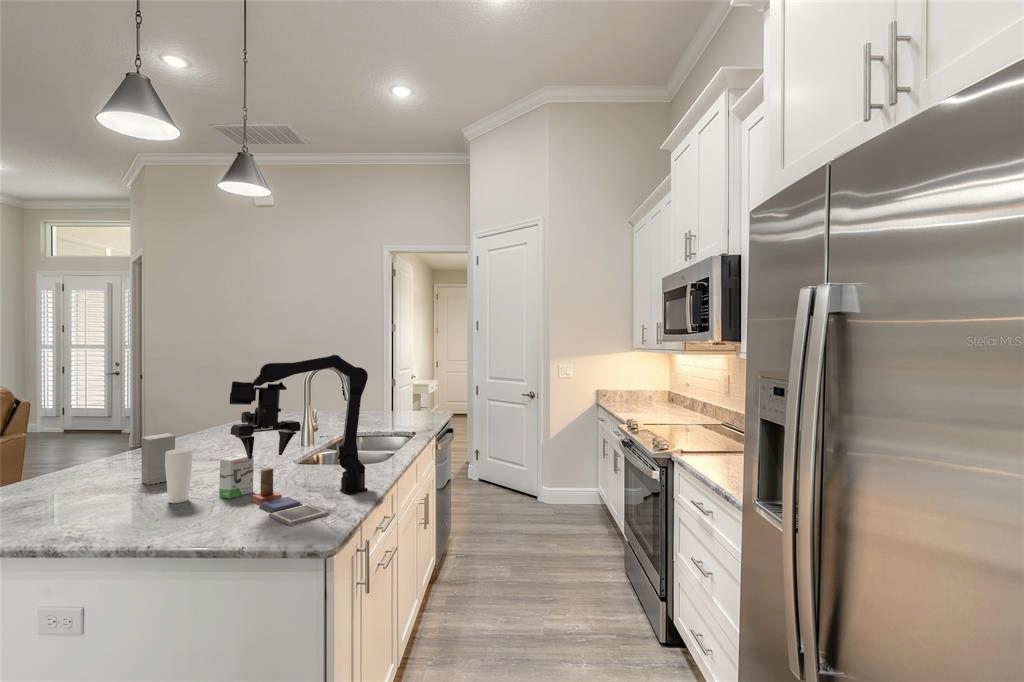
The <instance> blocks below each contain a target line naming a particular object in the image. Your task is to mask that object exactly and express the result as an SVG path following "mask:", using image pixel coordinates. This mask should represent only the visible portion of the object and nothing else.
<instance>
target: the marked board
mask: <svg viewBox="0 0 1024 682" xmlns="http://www.w3.org/2000/svg"><path fill="white" fill-rule="evenodd" d="M329 514H330V512H329V511H327V510H324V509H322V508H319V507H317V506H314V505H312V504H309V503H307V504H304V505H303V504H302V506H299V507H295V508H291V509H287V510H283V511H279V512H275V513H268V517H269V516H270V517H269V518H271V519H274V520H276V521H278V522H280V523H282V524H284V523H285V524H284V525H286V524H287V526H288V525H290V526H293V524H294V525H297V524H301V523H304V522H307V521H312V520H315V519H318V518H322V516H323V517H326V516H330V515H329ZM325 515H326V516H325ZM296 523H297V524H296Z"/></svg>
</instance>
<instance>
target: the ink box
mask: <svg viewBox="0 0 1024 682" xmlns="http://www.w3.org/2000/svg"><path fill="white" fill-rule="evenodd" d="M254 457H255V456H254V454H253V455H252V459H248V456H247V453H246V454H245V453H243V454H241V453H240V454H238V455H236V454H235V455H231V456H226V457H221V458H220V460H219V484H218V485H219V491H218V493H219V494H218V497H219V498H222V499H223V498H224V499H229V500H230V499H231V498H232V499H235V498H238V497H240V496H241V497H242V496H244V494H245V495H248V494H251V493H253V492H254V464H255V463H254ZM234 497H235V498H234Z"/></svg>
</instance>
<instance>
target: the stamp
mask: <svg viewBox="0 0 1024 682" xmlns="http://www.w3.org/2000/svg"><path fill="white" fill-rule="evenodd" d="M280 498H283V497H282V494H281V493H278V492H277V491H274V468H269V467H267V468H262V469H260V492H259V493H256V494H252V496H251V502H252V503H253V504H256V505H259V506H260V505H262V503H263V502H267V501H271V500H276V499H280Z"/></svg>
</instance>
